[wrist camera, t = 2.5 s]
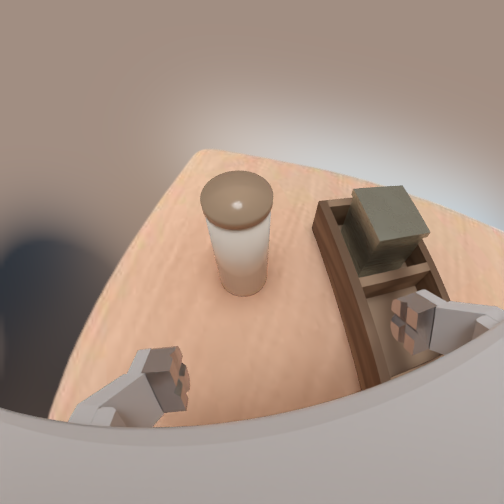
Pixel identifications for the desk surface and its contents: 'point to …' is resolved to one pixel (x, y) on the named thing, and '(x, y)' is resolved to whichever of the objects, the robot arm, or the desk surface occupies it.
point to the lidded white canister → (239, 228)
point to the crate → (373, 299)
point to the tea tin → (382, 229)
